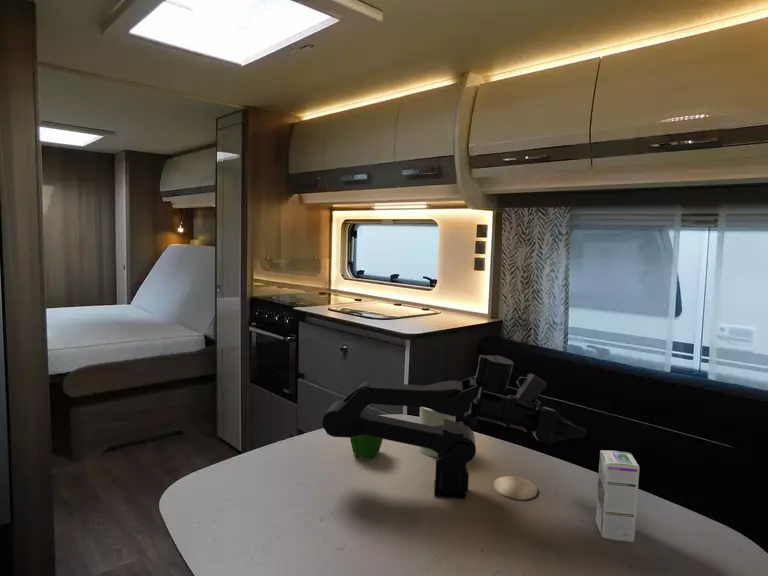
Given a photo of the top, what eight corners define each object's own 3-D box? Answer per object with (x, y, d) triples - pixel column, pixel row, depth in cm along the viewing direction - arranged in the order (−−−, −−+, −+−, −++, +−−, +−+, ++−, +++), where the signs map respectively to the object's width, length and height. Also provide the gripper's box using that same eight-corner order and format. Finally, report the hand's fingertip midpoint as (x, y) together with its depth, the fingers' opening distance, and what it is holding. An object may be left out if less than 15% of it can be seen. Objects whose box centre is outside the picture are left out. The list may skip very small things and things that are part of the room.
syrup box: (635, 543, 90) (642, 466, 88) (600, 538, 91) (606, 462, 89) (626, 525, 95) (633, 452, 94) (593, 520, 97) (599, 448, 95)
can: (414, 441, 130) (416, 396, 129) (449, 440, 131) (451, 396, 130) (421, 457, 121) (423, 409, 120) (458, 456, 122) (460, 409, 121)
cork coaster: (496, 498, 104) (496, 495, 104) (491, 476, 113) (491, 474, 113) (540, 501, 103) (541, 499, 103) (532, 480, 112) (533, 477, 112)
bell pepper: (352, 445, 127) (353, 407, 126) (384, 448, 126) (386, 410, 125) (345, 460, 119) (346, 420, 117) (379, 463, 118) (381, 422, 116)
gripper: (518, 374, 94) (602, 395, 92) (503, 368, 113) (573, 384, 111) (505, 433, 93) (590, 455, 92) (492, 417, 112) (563, 434, 110)
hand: (578, 428), depth 101 cm, fingers open, 9 cm apart
